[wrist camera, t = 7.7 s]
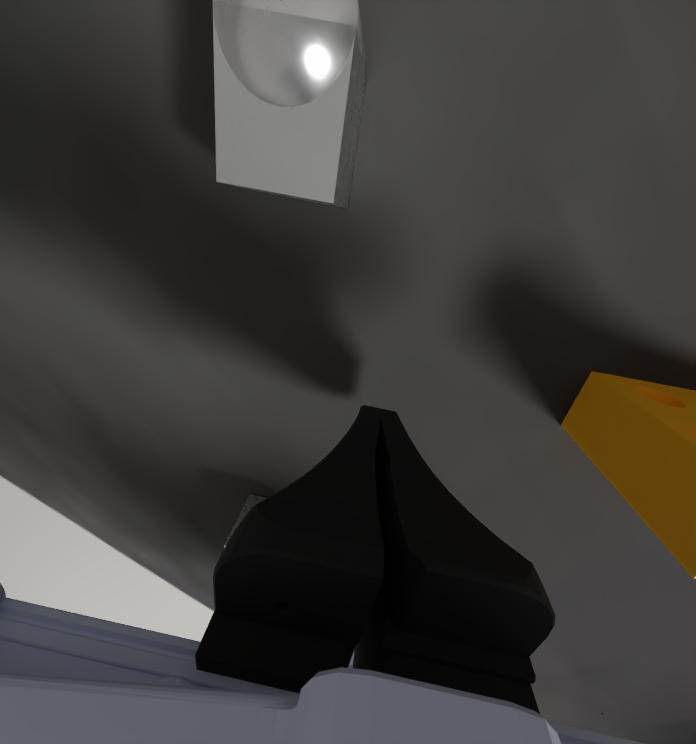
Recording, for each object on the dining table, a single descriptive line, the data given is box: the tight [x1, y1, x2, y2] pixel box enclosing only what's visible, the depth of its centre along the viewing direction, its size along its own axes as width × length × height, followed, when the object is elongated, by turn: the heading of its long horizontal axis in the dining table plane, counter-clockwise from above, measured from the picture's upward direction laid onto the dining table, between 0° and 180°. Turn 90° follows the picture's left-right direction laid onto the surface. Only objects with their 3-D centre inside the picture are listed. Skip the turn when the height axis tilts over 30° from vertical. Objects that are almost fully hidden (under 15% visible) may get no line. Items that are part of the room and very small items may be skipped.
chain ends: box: [213, 0, 366, 548], centre depth 12 cm, size 24×3×3 cm, turn 170°
